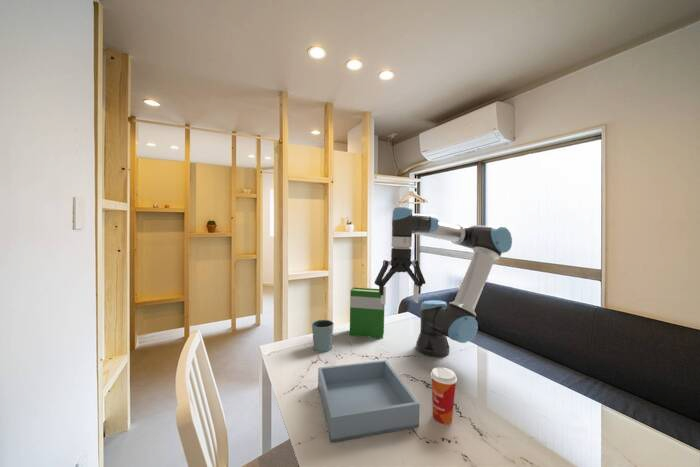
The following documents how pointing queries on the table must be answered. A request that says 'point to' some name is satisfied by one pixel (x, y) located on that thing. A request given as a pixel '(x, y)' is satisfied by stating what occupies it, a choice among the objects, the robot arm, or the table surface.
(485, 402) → the table surface
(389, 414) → the bin
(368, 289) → the hardback book
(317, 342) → the grey-blue cup
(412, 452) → the table surface
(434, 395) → the paper cup
